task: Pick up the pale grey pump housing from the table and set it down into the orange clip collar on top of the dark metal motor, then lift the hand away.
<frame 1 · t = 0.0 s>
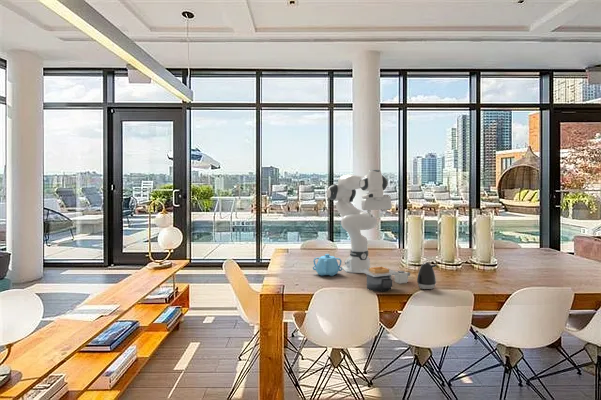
hand: (377, 217, 267), 39 cm above the table, tool pointing down, fingers open, 8 cm apart
pump housing: (401, 282, 259), on the table
clip collar: (378, 269, 245), on the motor, point 10 cm above the table
motor: (378, 288, 246), on the table
pump dispenser: (426, 289, 243), on the table
decorative pot: (327, 274, 282), on the table
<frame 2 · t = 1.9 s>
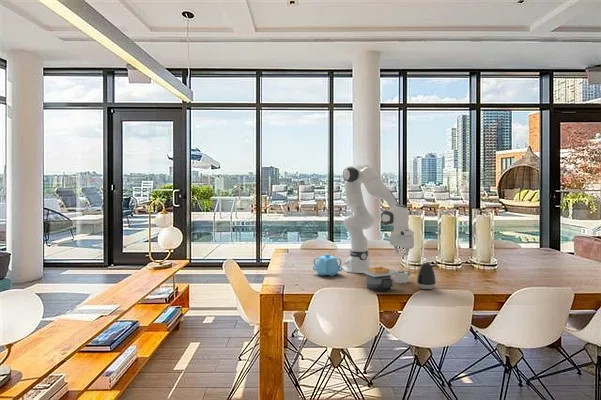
hand: (401, 254, 258), 17 cm above the table, tool pointing down, fingers open, 8 cm apart
nothing on the table moved.
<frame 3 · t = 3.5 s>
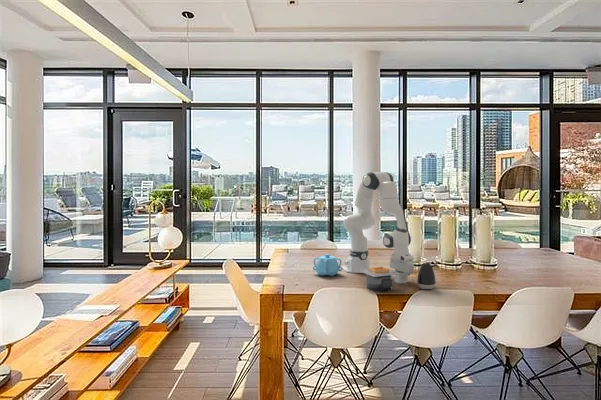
hand: (401, 278, 259), 2 cm above the table, tool pointing down, fingers closed on pump housing, 5 cm apart
pump housing: (401, 282, 259), on the table, touching gripper
everything else where it was.
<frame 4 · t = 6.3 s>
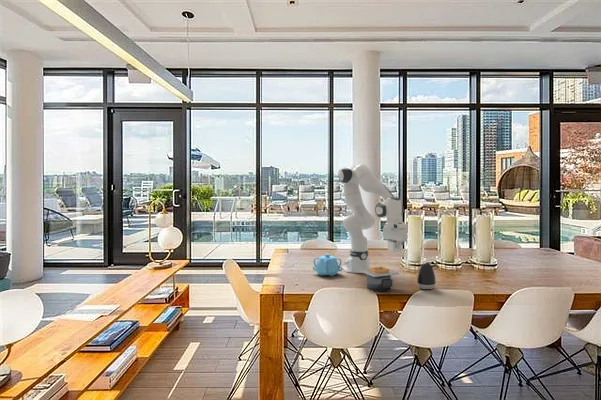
hand: (394, 247, 253), 22 cm above the table, tool pointing down, fingers closed on pump housing, 5 cm apart
pump housing: (394, 251, 254), point 20 cm above the table, touching gripper
everything else where it was.
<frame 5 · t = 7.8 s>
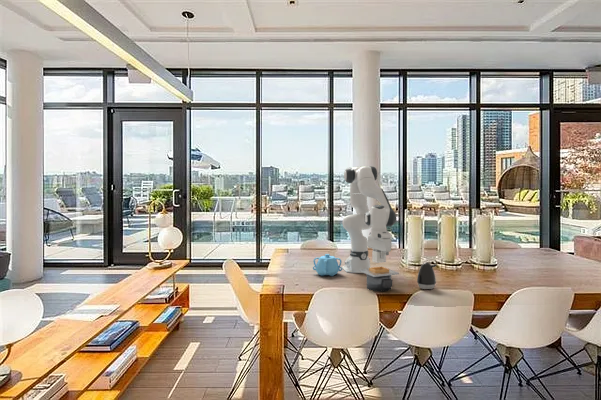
hand: (379, 257, 244), 18 cm above the table, tool pointing down, fingers closed on pump housing, 5 cm apart
pump housing: (379, 261, 245), point 15 cm above the table, touching gripper
everything else where it was.
when the fingers open (13 cm above the table, at t = 9.0 s): pump housing stays where it is, resting on motor.
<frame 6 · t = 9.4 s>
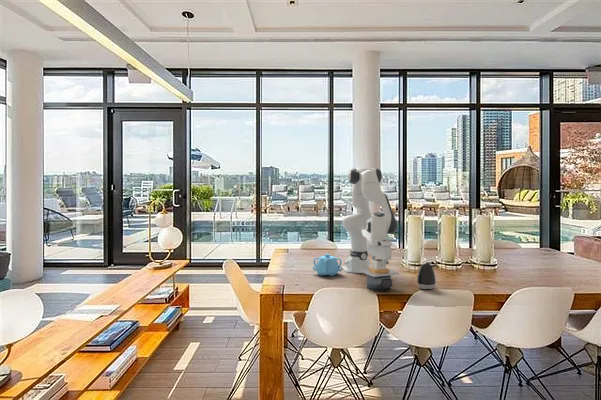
hand: (378, 265, 245), 13 cm above the table, tool pointing down, fingers open, 8 cm apart
pump housing: (378, 271, 245), point 10 cm above the table, touching motor
everything else where it was.
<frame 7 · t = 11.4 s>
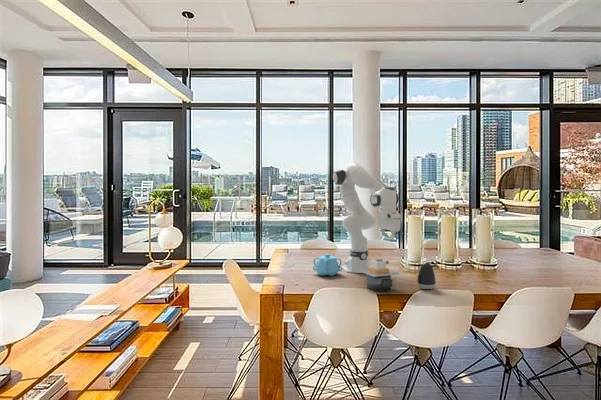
hand: (387, 237, 255), 28 cm above the table, tool pointing down, fingers open, 8 cm apart
nothing on the table moved.
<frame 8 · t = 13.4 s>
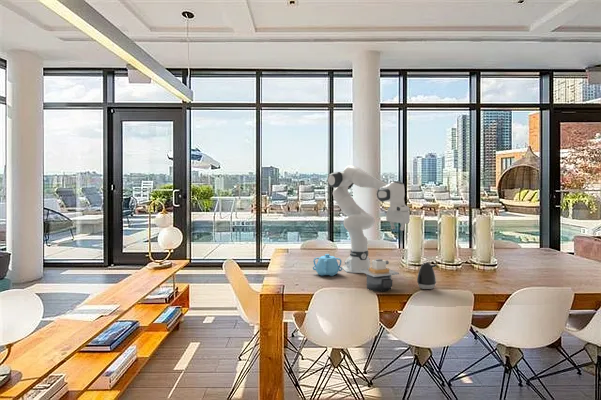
hand: (397, 229, 265), 31 cm above the table, tool pointing down, fingers open, 8 cm apart
nothing on the table moved.
at the end: pump housing 0.1 cm off-centre on the motor, point 10.0 cm above the motor's base; pump housing tilted 0°; the gripper is holding nothing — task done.
